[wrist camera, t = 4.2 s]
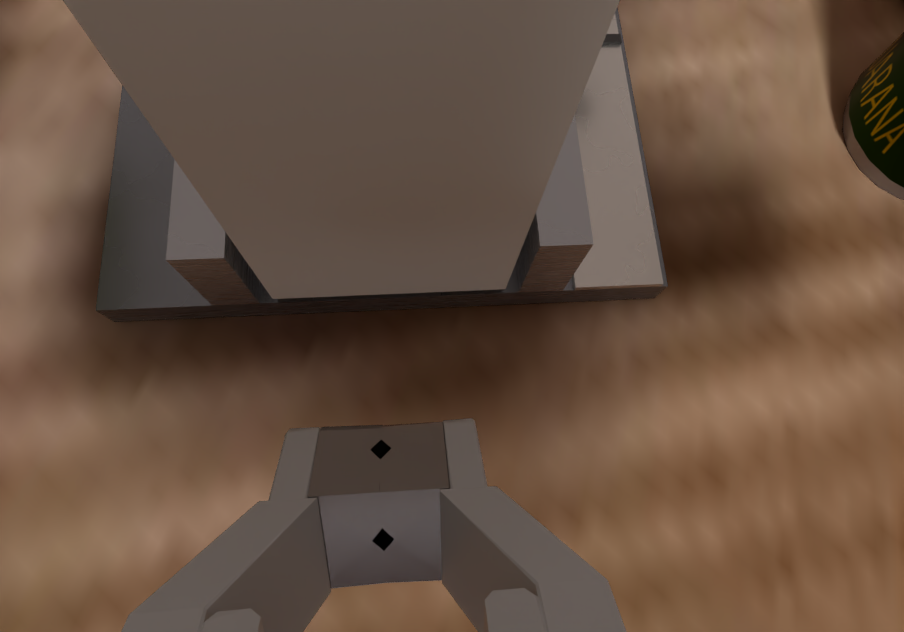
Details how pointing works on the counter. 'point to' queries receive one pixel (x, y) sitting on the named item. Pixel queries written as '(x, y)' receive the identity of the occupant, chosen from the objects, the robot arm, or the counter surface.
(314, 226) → the plunger
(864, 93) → the green drink can
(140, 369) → the counter surface
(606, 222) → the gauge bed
